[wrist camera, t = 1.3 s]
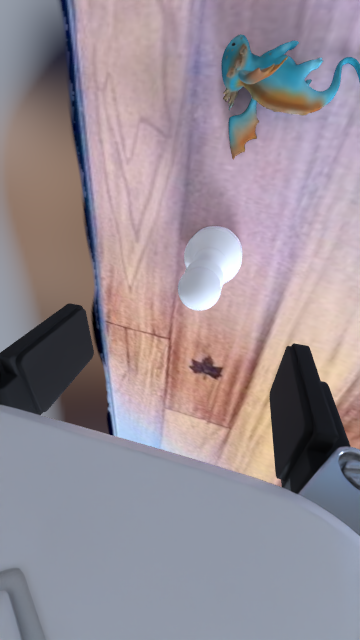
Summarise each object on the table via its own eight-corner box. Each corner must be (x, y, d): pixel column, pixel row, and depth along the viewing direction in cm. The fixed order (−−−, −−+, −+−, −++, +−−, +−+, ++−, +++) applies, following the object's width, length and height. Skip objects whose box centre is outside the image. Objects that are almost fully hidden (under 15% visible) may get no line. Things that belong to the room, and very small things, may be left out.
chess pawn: (241, 221, 20) (236, 254, 12) (243, 277, 22) (239, 332, 15) (183, 228, 21) (148, 261, 14) (191, 280, 24) (164, 331, 16)
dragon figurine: (385, -112, 10) (216, -25, 11) (449, 46, 10) (279, 125, 11) (309, 52, 17) (206, 102, 17) (349, 148, 17) (245, 195, 17)
